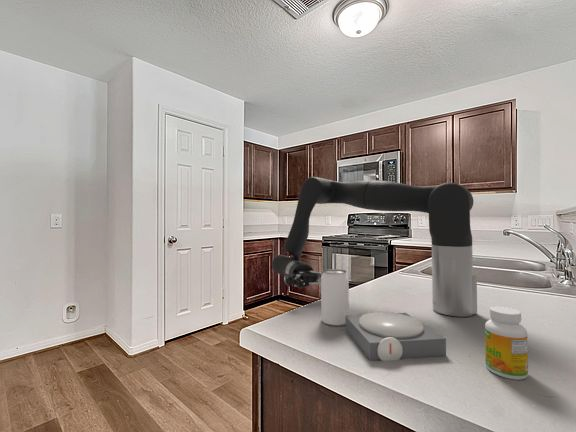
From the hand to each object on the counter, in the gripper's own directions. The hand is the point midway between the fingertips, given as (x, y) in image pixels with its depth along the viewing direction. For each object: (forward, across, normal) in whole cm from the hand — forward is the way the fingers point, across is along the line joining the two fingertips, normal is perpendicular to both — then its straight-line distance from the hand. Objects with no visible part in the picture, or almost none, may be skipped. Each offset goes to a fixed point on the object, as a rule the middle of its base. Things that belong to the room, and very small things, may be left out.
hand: (317, 283), depth 79 cm
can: (+11, 0, +7) cm, 13 cm away
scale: (+24, +6, +6) cm, 26 cm away
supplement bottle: (+39, +16, +7) cm, 43 cm away
